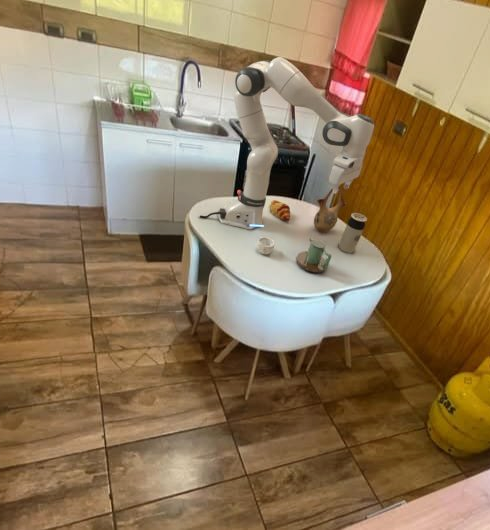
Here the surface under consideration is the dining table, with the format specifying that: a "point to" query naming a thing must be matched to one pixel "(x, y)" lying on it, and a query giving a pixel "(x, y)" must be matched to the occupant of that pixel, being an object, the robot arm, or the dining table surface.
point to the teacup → (265, 245)
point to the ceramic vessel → (327, 213)
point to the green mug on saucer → (314, 257)
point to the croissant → (280, 210)
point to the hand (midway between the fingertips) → (340, 190)
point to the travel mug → (352, 232)
